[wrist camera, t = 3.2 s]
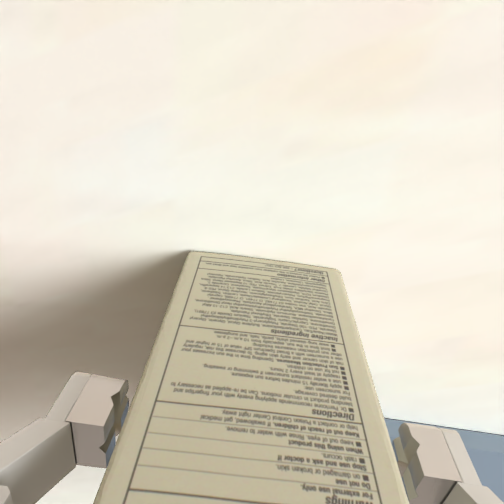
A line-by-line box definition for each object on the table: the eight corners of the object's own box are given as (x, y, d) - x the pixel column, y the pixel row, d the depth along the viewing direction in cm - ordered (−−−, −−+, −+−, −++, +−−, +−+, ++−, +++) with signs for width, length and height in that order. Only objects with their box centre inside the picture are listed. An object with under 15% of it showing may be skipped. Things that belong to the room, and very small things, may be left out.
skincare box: (184, 330, 17) (40, 792, 7) (188, 243, 15) (-16, 724, 5) (325, 349, 17) (395, 836, 7) (349, 264, 15) (505, 789, 5)
